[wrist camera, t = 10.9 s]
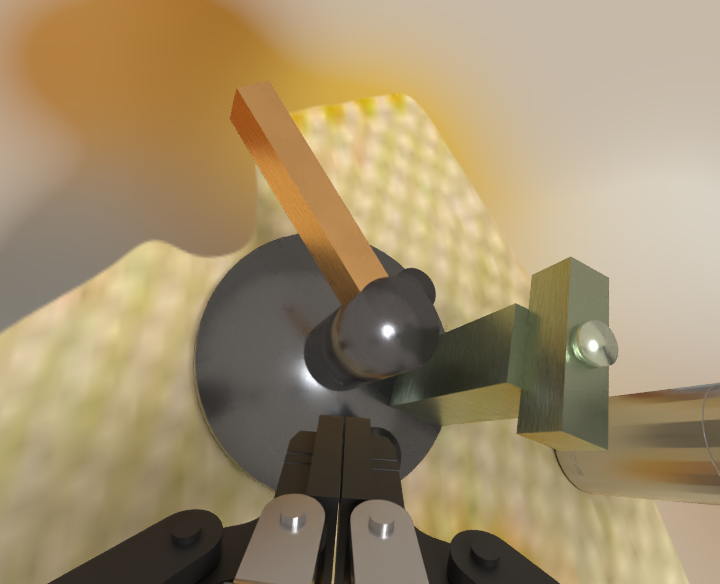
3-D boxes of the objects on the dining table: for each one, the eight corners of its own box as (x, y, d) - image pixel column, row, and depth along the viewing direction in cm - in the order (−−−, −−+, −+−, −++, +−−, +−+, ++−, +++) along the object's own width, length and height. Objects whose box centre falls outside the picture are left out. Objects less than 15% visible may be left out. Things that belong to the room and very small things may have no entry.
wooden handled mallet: (385, 367, 37) (455, 341, 28) (329, 406, 34) (388, 389, 25) (261, 161, 38) (291, 76, 30) (197, 180, 35) (210, 92, 27)
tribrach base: (455, 298, 45) (637, 204, 28) (412, 533, 35) (650, 606, 18) (256, 202, 39) (332, 10, 22) (138, 451, 29) (114, 447, 12)
